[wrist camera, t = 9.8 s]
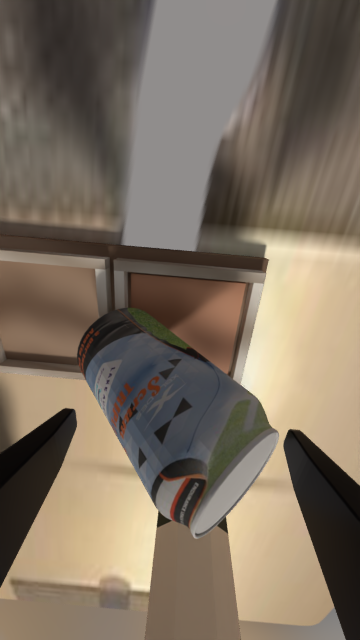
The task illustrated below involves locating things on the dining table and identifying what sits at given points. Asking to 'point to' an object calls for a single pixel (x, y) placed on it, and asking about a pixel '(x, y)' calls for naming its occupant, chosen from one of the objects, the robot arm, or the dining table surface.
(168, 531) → the wine bottle
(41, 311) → the board
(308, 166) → the dining table surface
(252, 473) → the beverage can
